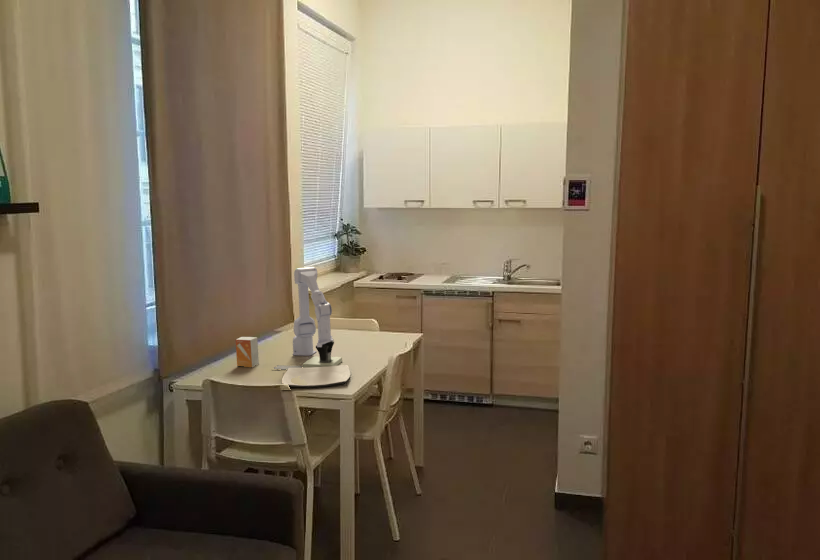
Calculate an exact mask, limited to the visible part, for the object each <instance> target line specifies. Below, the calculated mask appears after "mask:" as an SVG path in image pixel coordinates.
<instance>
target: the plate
mask: <svg viewBox="0 0 820 560" xmlns="http://www.w3.org/2000/svg"><path fill="white" fill-rule="evenodd" d="M296 376H297V377H298V376H301V377H299V378H300V379H301V380H303V379H304V380H305V381H306V382H307V383H308V384H307V385H298V384H294V383H292V382H291V379H292V378H295V377H296ZM297 377H296V378H297ZM350 377H351V371H350V367H349V365H348V364H338V365H337V366H329V367H309V368H288V370H287V371H285V373H284V374H283V376H282V379H281V384H282V383H284V384H288V385H289V386H291V387H290V388H322V387H329V386H335V385H342V384H346V382H348V381H349V380H350Z"/></svg>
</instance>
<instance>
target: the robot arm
mask: <svg viewBox="0 0 820 560" xmlns="http://www.w3.org/2000/svg"><path fill="white" fill-rule="evenodd" d="M318 274H319V273H318V270H317V268H316V266H311V267H310V266H308V267H299V268H298V267H296V268H295V270H294V272H293V277H294V279H293V280H294V284H296V285H297V288H298V290H297V291H298V293H297V294H298V310H299V316H298V317H297V318H296V319H294V321H293V333H294V335H295V336H293V338H292V350H293V351H292V353H293V354H292V356H309V357H310V356H311V357H312V356H313V355H314V354H316V353H317V352H318V354H319V355H320V356H319V355H318V356H319V357H320V359H321V361H326V356H327V352H331V353H332V352H333V351H332V350H333V346H334V344H335V340H334V338H333V335H332V334H331V332H332V331H331V316H332V314H333V313H332V312H333V309H332V305H331V303H330V302H328V301H327V299H326V298H325V297H326V296H325V295H324V293H323V291H322V290H320V288H319V285H318V282H317V280H318ZM309 291H310V292H311V296H310V297H309V294H310V293H309ZM310 298H311V300H312V304H313V305H314V315H315V319H316V322H317V327H316V322H315V319H314V318H313V317H311V316H310ZM316 331H317V337H318V339H317V342H316V345H315V349H316V350H314V340H313V339H314V335H315V334H316Z"/></svg>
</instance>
